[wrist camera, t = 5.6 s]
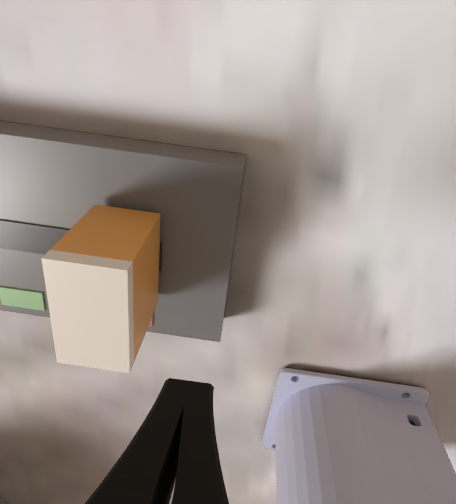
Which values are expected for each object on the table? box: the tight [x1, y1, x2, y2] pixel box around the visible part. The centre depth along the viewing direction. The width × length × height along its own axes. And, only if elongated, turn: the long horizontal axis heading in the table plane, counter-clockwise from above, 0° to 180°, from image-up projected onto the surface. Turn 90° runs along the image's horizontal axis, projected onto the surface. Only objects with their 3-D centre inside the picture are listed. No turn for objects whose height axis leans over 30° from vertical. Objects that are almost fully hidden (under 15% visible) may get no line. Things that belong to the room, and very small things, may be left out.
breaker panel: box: [0, 121, 246, 342], centre depth 20 cm, size 16×10×2 cm, turn 84°
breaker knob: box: [41, 204, 160, 373], centre depth 17 cm, size 3×5×5 cm, turn 174°
